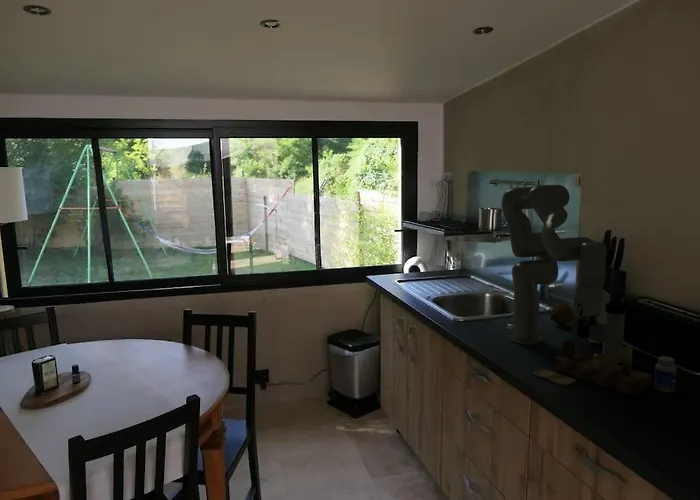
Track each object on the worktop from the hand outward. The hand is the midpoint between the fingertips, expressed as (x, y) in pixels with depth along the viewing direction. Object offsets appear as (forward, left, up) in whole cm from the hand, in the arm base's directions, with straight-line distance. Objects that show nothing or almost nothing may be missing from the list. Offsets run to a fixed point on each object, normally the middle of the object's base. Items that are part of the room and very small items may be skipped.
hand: (586, 334), depth 158 cm
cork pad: (-4, -11, -13) cm, 18 cm away
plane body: (+5, +1, -13) cm, 14 cm away
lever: (+12, -6, -9) cm, 16 cm away
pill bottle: (+21, +8, -14) cm, 26 cm away
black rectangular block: (+1, 0, 0) cm, 1 cm away
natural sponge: (-31, +39, -14) cm, 52 cm away
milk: (-13, +33, -14) cm, 38 cm away
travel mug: (-1, +21, -14) cm, 25 cm away
